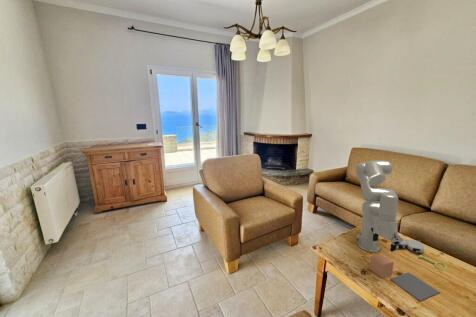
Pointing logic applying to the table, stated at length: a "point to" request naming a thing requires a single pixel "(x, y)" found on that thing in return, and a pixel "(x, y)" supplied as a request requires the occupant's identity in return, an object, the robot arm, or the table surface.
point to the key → (434, 263)
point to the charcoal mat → (414, 286)
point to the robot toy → (411, 246)
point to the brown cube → (381, 265)
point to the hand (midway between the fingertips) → (383, 245)
